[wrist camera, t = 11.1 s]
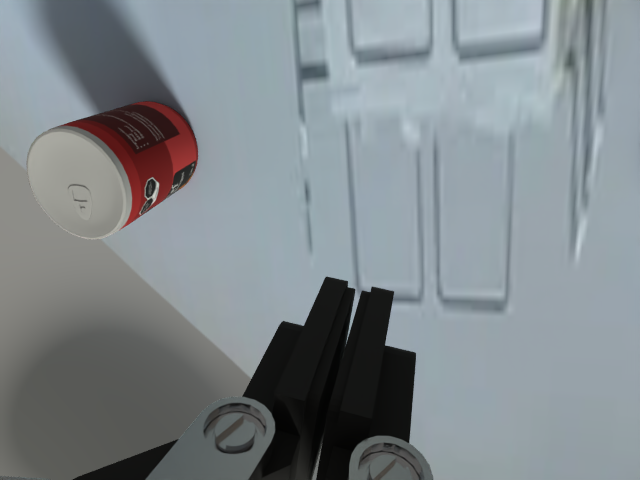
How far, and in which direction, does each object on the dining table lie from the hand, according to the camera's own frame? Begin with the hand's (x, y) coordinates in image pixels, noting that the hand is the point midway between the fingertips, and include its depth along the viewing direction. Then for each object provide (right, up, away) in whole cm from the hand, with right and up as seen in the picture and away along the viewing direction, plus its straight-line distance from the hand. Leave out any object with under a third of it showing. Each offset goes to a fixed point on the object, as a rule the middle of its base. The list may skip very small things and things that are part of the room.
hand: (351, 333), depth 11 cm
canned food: (-15, +11, +30) cm, 35 cm away
